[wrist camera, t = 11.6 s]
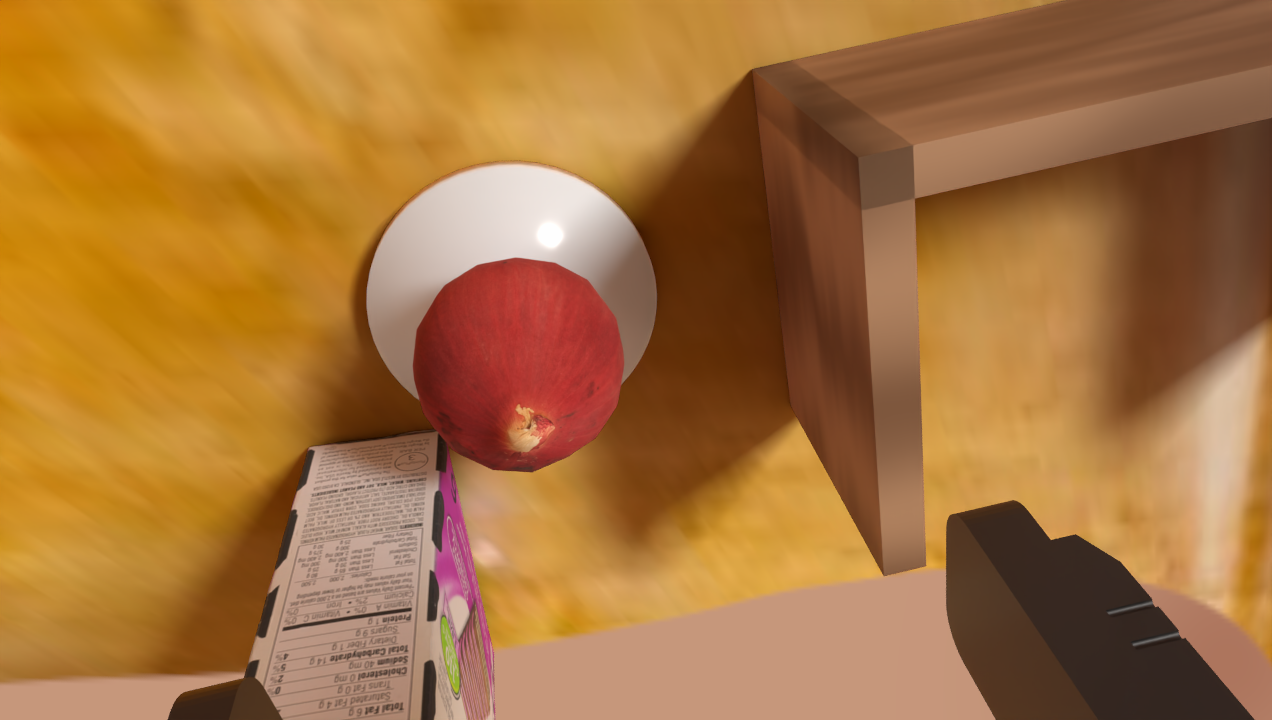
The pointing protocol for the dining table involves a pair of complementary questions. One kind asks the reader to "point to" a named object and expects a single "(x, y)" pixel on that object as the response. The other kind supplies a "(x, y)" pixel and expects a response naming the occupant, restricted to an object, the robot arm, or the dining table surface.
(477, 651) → the candy bar box
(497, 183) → the coaster
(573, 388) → the onion
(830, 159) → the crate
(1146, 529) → the dining table surface
